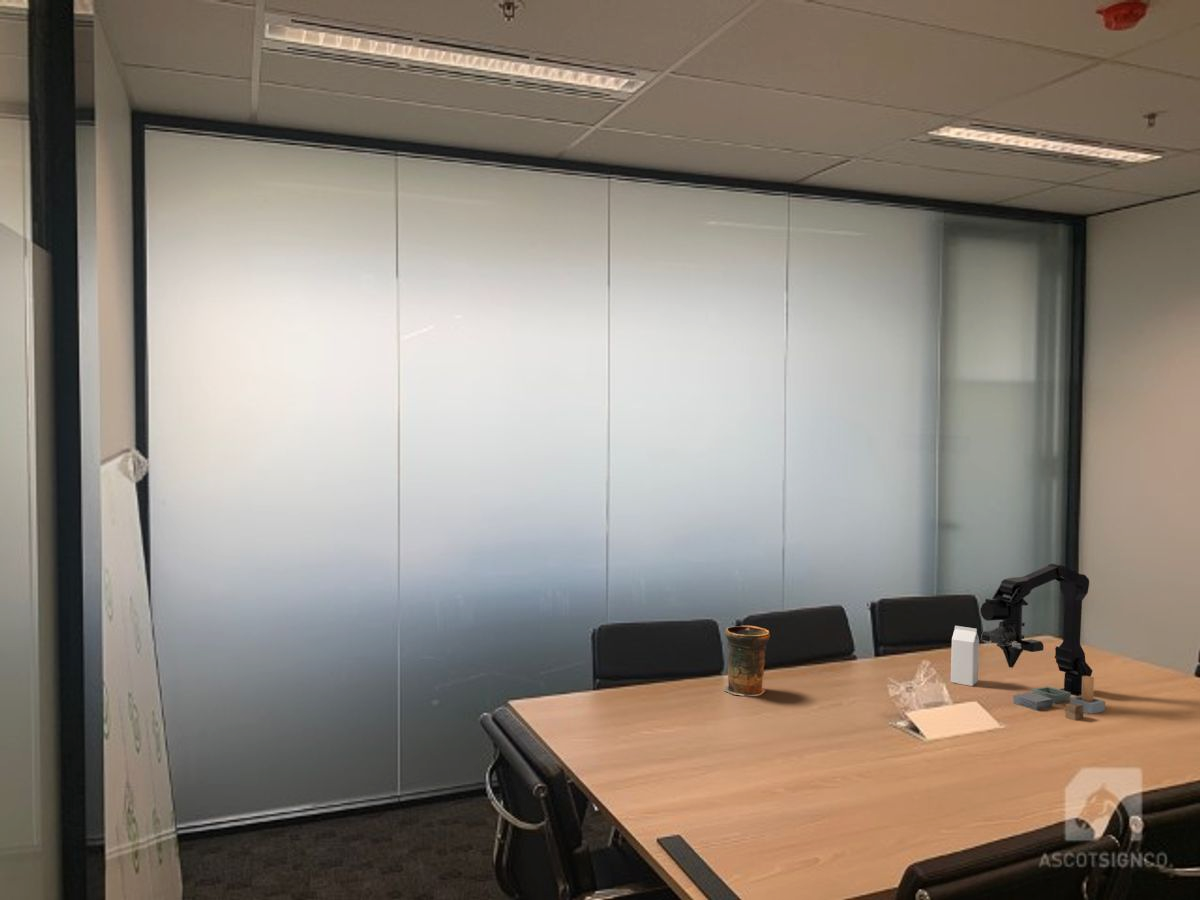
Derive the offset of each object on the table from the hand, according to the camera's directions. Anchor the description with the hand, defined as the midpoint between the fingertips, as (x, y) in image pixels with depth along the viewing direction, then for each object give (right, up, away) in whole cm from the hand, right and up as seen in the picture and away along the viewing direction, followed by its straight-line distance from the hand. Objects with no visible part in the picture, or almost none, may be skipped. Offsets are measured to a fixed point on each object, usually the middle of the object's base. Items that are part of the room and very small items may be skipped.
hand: (1011, 667), depth 280 cm
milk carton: (-8, -10, +18) cm, 22 cm away
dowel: (+19, -11, -10) cm, 24 cm away
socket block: (+19, -11, -10) cm, 24 cm away
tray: (+13, -10, +1) cm, 17 cm away
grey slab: (+4, -11, -7) cm, 13 cm away
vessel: (-85, -9, +3) cm, 85 cm away
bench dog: (+10, -11, -19) cm, 24 cm away
